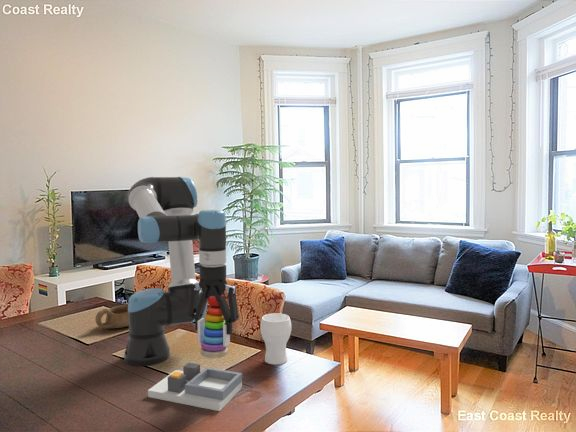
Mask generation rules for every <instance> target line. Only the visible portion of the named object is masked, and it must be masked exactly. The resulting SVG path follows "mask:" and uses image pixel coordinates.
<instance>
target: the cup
mask: <svg viewBox="0 0 576 432" xmlns="http://www.w3.org/2000/svg"><path fill="white" fill-rule="evenodd" d="M259 330H260V333H261V334H260V335H261V337H262V340H263V341H264V345H265V355H264V362H265V363H267V364H269V365H282V364H285V363H286V362H287V361H288V356H287V355H288V354H287V343H288V341H289V339H290V337H291V334H292V321H291V318H290V316H289V315H288V314H285V313H278V312H277V313H276V312H275V313H273V312H272V313H266V314H264V315H263V316H262V317H261V320H260V329H259Z"/></svg>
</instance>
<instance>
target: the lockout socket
mask: <svg viewBox="0 0 576 432" xmlns="http://www.w3.org/2000/svg"><path fill="white" fill-rule="evenodd" d="M207 377H210V378H216V379H222V380H227V381H230V382H229V383H228V384H227V385H226V386H225V387H224V388H223V389H216V388H211V387H205V386H200V385H199V384H200V383H201V382H203V381H204V380H205V379H206V378H207ZM241 382H242V383H243V373H242V372H236V371H231V370H226V369H225V370H224V369H219V368H212V367H208V366H207V367H205V368H203V370H200V373H199V374H198V375H196V376H195V377H194V378H193V379H191V380H190V381H189V382H188V383H186V384H185V393H186V394H191V395H197V396H202V397H207V398H212V399H218V400H224V399H225V398H226V397H227V396H228V395H229V394H230V393H231V392H232V391H233V390H234V389H235V388H236V387H237V386H238V385H239V384H240V383H241Z"/></svg>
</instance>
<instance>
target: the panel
mask: <svg viewBox="0 0 576 432" xmlns="http://www.w3.org/2000/svg"><path fill="white" fill-rule="evenodd" d="M174 372H181V373H183V370H179V369H175V370H173V371H172V372H171V373H170V374H168V375H167V376H165V377H164V378H162V380H160V381H158V382H157V383H156V384H154V385H153V386H151V387H150V388H149V389H147V397H148V398H151V399H158V400H160V401H161V400H162V401H165V402H166V401H167V402H171V403H176V404H181V405H187V406H191V407H197V408H200V409H201V408H202V409H206V410H212V411H218V412H220V411H222V410H223V408H225V406H226V405H227V404H228V403H230V401H231V400H232V399H233V398H234V397H235V396H236V395H237V394H238V392H240V391H241V389H242V388H243V381H242V382H241V383H240V384H239V385H238V386H237V387H236V388H235V389H234V390H233V391H232V392H231V393H230V394H229V395H228V396H227V397H226V398H225V399H224V400H218V399H212V398H207V397H202V396H197V395H191V394H186V393H185V389H184V390H183V391H182V392H181V393H177V392H172V391H168V377H169V376H170V375H171V374H173V373H174ZM188 382H189V380H186V383H188ZM229 382H230V381H227V380H222V379H216V378H210V377H207V378H206V379H205V380H204V381H203V382H201V383H200V384H199V385H200V386H205V387H211V388H216V389H223V388H224V387H225V386H226V385H227V384H228V383H229Z"/></svg>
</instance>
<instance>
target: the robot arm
mask: <svg viewBox="0 0 576 432" xmlns="http://www.w3.org/2000/svg"><path fill="white" fill-rule="evenodd" d="M127 201H128V204H129V206H130V208H131V209H133V210H134V211H136V213H137V215H138V222H137V234H138V240H139V241H140V242H141V243H142V244H146V243H147V244H149V243H151V244H156V243H168V254H169V264H170V276H171V277H170V279H171V282H170V284H169V285H168V286H167V291H165V292H164V289H162V288H160V287H156V288H153V287H152V288H146V289H142V290H139V291H136V292H135V293H133V294H132V295H130V296H129V298H128V301H127V304H128V312H129V326H128V335H129V337H128V340H127V344H126V347H125V350H124V354H123V355H124V356H123V357H124V362H125V363H126V364H127V365H128V366H134V367H147V366H154V365H157V364H160V363H163V362H165V361H167V360H168V359H169V358H170V356H171V349H170V346H169V344H168V339H167V338H166V335H165V327H169V326H175V325H181V324H183V325H184V324H190V323H191V324H192V323H194V322H195V323H194V326H195V328H194V329H195V331H197V344H201V342H202V341H203V339H202V338H203V335H204V328H205V327H206V326H205V322H206V321H205V320H206V315H207V314H206V313H207V309H208V303H209V302H208V297H210V296H215V298H216V300H217V301H218V303H219V306H220V309H221V311H222V314H223V317H224V319H225V323H224V324H223V346H224V347H226V346H227V347H228V346H229V345H230V344H231V334H233V324H234V323H235V322H237V321H238V320H239V319H240V317H239V309H238V302H237V295H236V293H237V286H236V285H229V284H228V283H227V280H226V279H227V265H226V263H227V220H226V218H227V217H226V212H225V211H224V210H222V209H203V210H200V211H199V212H198V213H196V214H193V213H194V208H196V207H197V206H198V192H197V187H196V185H195V183H194V181H193V180H192V179H191V178H190V177H182V176H177V177H176V176H171V177H170V176H169V177H167V176H163V177H162V176H160V177H157V176H151V177H145V178H142V179H140V180H138V181H136V182H135V183H134V184H133V185H131V187H130V189H129V191H128V193H127ZM193 241H198V253H199V254H198V255H199V256H198V259H199V260H198V261H199V264H200V266H199V267H198V268H199V275H198V276H199V279H200V280H199V281H198V280H197V276H196V267H195V258H194V257H195V256H194V255H195V254H194V246H193ZM225 292H226V293H227V296H226V294H225ZM222 294H224V296H223V297H220V296H221V295H222ZM226 298H227V299H226ZM227 300H228V301H227Z"/></svg>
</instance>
